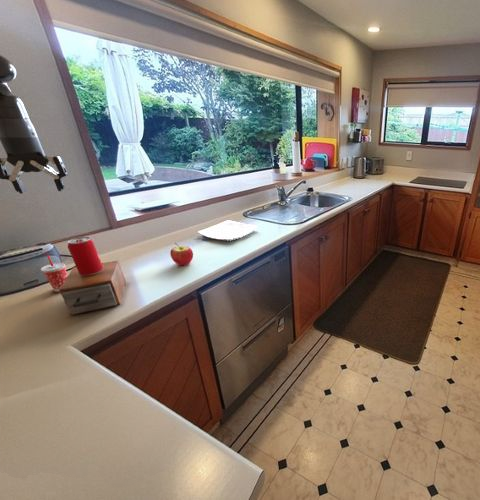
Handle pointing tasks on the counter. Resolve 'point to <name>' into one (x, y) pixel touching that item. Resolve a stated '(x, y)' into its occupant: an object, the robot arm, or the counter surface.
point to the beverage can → (85, 256)
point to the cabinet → (98, 280)
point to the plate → (228, 230)
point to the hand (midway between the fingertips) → (42, 191)
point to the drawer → (89, 298)
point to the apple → (181, 255)
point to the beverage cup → (55, 274)
